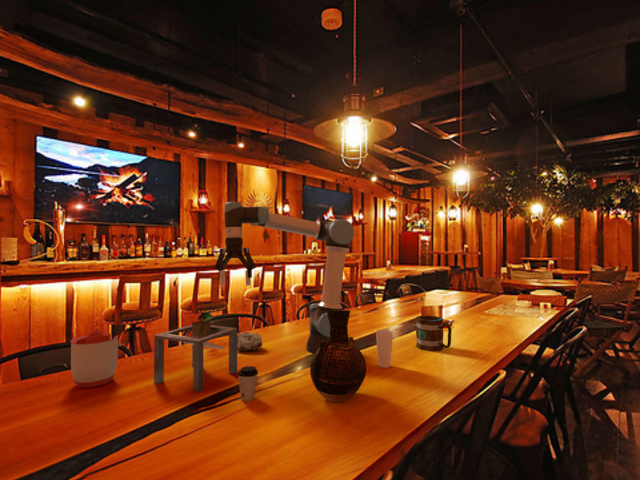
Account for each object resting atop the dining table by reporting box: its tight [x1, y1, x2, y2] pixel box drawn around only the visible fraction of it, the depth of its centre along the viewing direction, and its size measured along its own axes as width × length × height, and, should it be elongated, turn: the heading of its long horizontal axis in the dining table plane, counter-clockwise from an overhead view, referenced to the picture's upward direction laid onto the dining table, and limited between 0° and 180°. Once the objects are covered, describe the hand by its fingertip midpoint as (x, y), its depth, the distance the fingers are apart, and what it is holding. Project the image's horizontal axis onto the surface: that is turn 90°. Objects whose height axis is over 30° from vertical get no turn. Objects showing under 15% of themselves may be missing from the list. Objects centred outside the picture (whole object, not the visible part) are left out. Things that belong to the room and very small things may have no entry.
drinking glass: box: [375, 329, 393, 369], centre depth 150 cm, size 7×7×15 cm
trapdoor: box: [167, 334, 225, 350], centre depth 137 cm, size 17×16×1 cm
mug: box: [415, 315, 453, 352], centre depth 175 cm, size 20×14×15 cm
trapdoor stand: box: [153, 324, 238, 393], centre depth 138 cm, size 22×22×18 cm
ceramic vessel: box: [309, 309, 367, 403], centre depth 119 cm, size 21×18×30 cm
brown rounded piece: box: [191, 320, 212, 339], centre depth 144 cm, size 8×7×8 cm
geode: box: [237, 331, 263, 352], centre depth 176 cm, size 17×9×15 cm
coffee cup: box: [237, 365, 259, 402], centre depth 119 cm, size 7×7×10 cm
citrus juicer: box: [70, 329, 123, 389], centre depth 134 cm, size 16×17×20 cm
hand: (235, 285), depth 154 cm, fingers open, 13 cm apart
